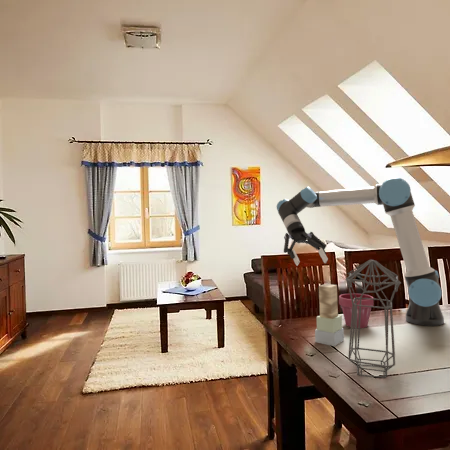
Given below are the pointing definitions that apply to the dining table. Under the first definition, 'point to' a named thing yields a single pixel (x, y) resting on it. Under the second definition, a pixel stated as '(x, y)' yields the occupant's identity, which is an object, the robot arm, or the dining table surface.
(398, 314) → the dining table surface
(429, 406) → the dining table surface
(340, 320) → the tower top
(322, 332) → the tower base
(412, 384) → the dining table surface
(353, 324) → the geometric lantern
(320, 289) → the pillar
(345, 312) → the plant pot
